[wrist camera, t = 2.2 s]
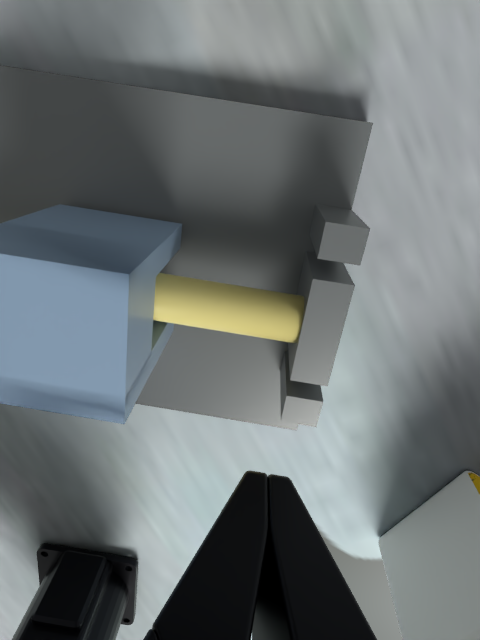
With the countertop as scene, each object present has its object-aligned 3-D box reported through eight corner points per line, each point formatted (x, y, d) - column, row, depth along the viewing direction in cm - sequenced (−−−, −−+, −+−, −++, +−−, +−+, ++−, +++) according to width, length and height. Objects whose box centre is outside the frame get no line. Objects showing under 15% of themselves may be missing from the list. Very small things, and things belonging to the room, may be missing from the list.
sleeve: (173, 330, 19) (124, 424, 13) (63, 312, 19) (-37, 397, 13) (182, 223, 17) (129, 274, 11) (59, 204, 17) (-62, 243, 11)
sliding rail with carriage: (295, 417, 22) (302, 513, 16) (-190, 337, 22) (-342, 403, 17) (367, 123, 16) (414, 118, 11) (-292, 21, 16) (-576, -35, 11)
